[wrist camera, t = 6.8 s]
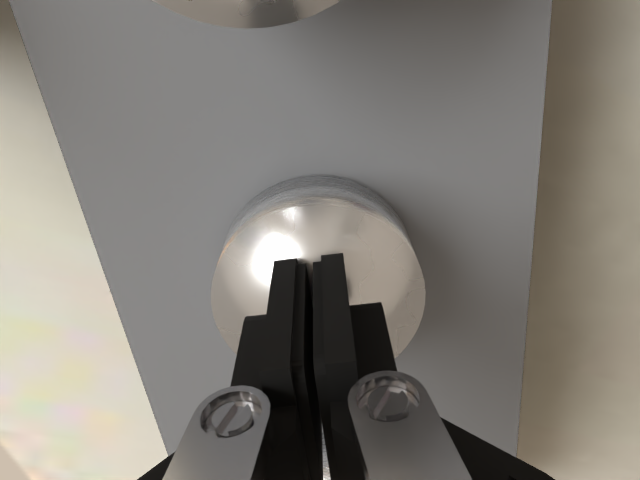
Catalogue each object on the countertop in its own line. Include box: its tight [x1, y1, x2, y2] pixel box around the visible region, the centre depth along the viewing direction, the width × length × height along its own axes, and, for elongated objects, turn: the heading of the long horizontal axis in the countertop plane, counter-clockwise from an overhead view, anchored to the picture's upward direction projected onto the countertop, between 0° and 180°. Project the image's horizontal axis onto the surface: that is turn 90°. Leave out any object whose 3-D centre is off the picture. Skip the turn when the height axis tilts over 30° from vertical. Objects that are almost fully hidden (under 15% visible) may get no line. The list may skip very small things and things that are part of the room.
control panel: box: [9, 0, 552, 457], centre depth 17 cm, size 12×30×6 cm, turn 7°
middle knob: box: [211, 175, 426, 359], centre depth 15 cm, size 5×5×7 cm
